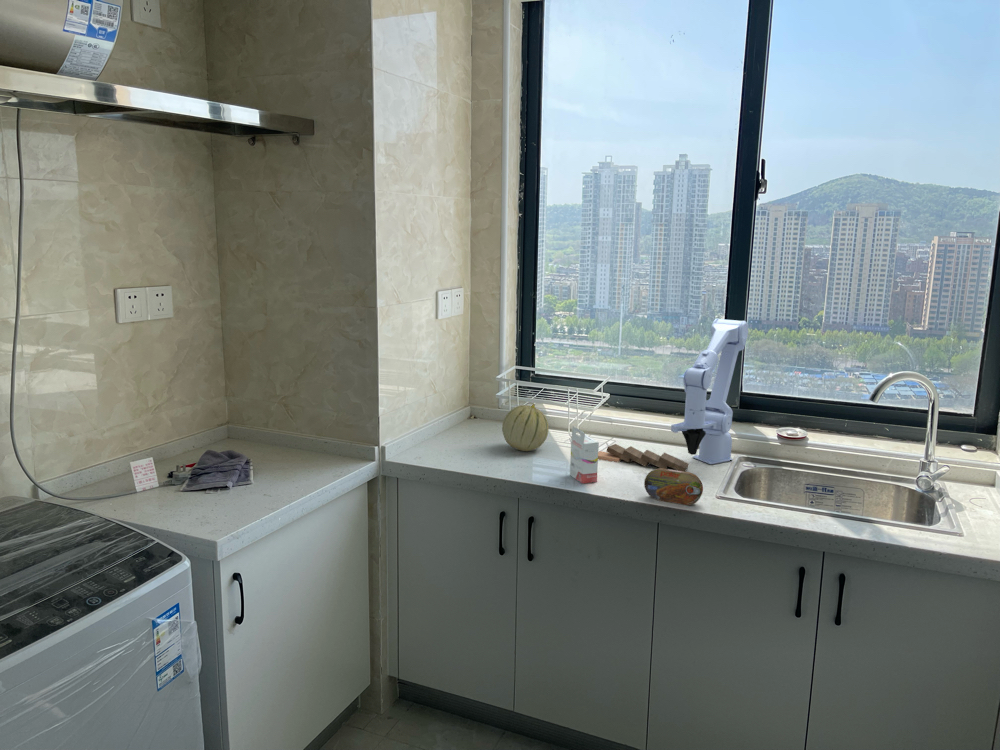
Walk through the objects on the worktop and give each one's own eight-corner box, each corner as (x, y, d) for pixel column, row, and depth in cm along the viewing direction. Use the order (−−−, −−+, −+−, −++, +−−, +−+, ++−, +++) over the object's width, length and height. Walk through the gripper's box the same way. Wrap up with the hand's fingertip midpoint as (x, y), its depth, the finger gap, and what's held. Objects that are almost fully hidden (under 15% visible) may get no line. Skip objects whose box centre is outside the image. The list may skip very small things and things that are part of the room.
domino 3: (653, 458, 224) (630, 446, 227) (647, 462, 220) (624, 449, 223) (651, 462, 224) (628, 450, 228) (645, 466, 220) (622, 454, 224)
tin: (643, 497, 195) (644, 467, 193) (646, 494, 198) (648, 464, 196) (700, 508, 188) (702, 476, 186) (703, 504, 191) (705, 473, 189)
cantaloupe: (492, 450, 235) (493, 404, 232) (521, 440, 245) (522, 397, 242) (528, 460, 225) (529, 412, 222) (557, 449, 236) (558, 404, 233)
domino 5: (689, 463, 219) (664, 452, 222) (685, 468, 215) (660, 456, 217) (687, 468, 220) (662, 457, 222) (683, 473, 215) (658, 461, 218)
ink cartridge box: (598, 482, 206) (600, 431, 203) (582, 484, 204) (584, 433, 201) (584, 473, 214) (586, 424, 211) (568, 474, 212) (570, 425, 209)
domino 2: (637, 454, 227) (615, 443, 231) (629, 457, 223) (607, 446, 227) (635, 459, 227) (614, 448, 232) (628, 462, 223) (606, 451, 228)
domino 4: (671, 461, 221) (647, 449, 224) (667, 465, 217) (642, 453, 220) (669, 465, 222) (645, 454, 225) (665, 470, 218) (640, 458, 220)
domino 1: (623, 455, 228) (599, 451, 232) (618, 459, 224) (593, 455, 228) (623, 460, 229) (599, 455, 232) (618, 464, 224) (593, 460, 228)
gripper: (707, 403, 220) (703, 447, 222) (666, 407, 214) (663, 452, 217) (722, 409, 213) (718, 454, 216) (680, 413, 208) (677, 459, 210)
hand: (692, 453), depth 216 cm, fingers closed
